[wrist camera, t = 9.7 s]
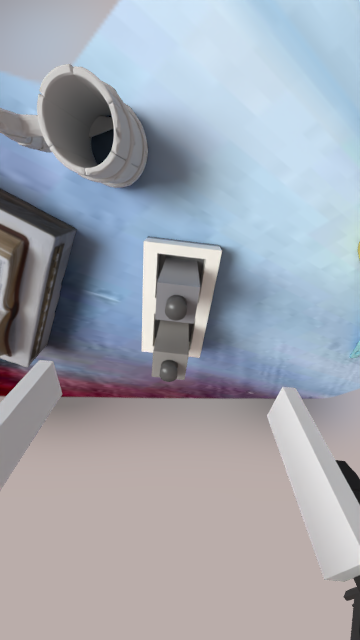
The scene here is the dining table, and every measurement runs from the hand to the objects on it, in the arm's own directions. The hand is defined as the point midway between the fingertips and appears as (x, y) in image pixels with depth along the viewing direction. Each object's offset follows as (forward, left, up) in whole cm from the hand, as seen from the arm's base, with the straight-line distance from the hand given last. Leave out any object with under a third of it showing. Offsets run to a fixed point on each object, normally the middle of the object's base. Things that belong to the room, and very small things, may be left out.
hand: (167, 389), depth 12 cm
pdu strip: (0, +5, -22) cm, 23 cm away
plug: (0, 0, -21) cm, 21 cm away
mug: (+11, -13, -23) cm, 29 cm away
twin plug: (0, +9, -21) cm, 23 cm away
